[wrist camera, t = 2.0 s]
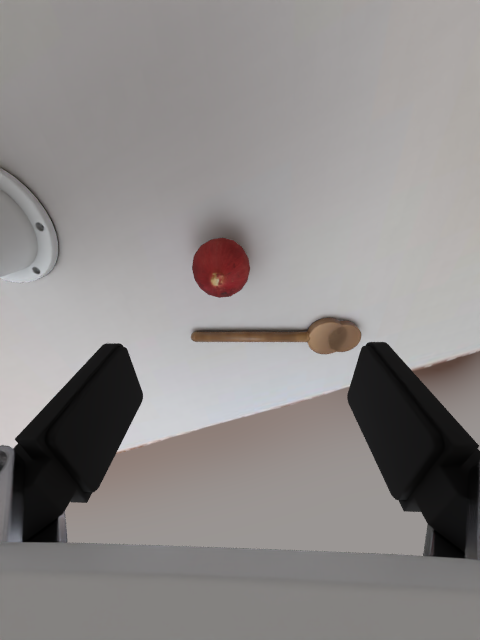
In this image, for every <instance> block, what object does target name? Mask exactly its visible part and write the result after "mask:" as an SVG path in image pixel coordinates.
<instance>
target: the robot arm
mask: <svg viewBox="0 0 480 640" xmlns="http://www.w3.org/2000/svg"><path fill="white" fill-rule="evenodd" d="M57 257H58V241H57V235H56V232H55V229H54V227H53V224H52V222H51V220H50V218H49V216H48V214H47V212H46V211H45V209H44V208H43V206H42V205H41V204H40V202H39V201H38V199H37V198H36V197H35V196H34V195H33V194H32V193H31V192H30V191H29V189H28V188H27V187H26V186H24V185H23V184H22V183H21V182H20V181H19V180H17V179H16V178H15V177H14V176H12V175H11V174H9V173H8V172H6V171H5V170H3V169H2V168H0V279H1V280H5V281H9V282H17V283H24V282H31V281H34V280H37V279H40V278H42V277H43V276H45V275H47V274H48V273H49V272H50V271H51V270H52V269H53V267H54V266H55V264H56V261H57ZM142 399H143V393H142V390H141V387H140V384H139V381H138V379H137V376H136V373H135V370H134V367H133V365H132V362H131V359H130V356H129V353H128V350H127V348H125V347H123V345H121V344H104V345H103V346H102V347H101V348H100V349H99V350H98V351H97V352H96V353H95V354H94V355H93V356H92V357H91V358H90V359H89V360H88V361H87V363H86V364H85V365H84V366H83V367H82V368H81V369H80V370H79V371H78V372H77V373H76V374H75V375H74V376H73V377H72V379H71V380H70V381H69V382H68V383H67V384H66V385H65V386H64V387H63V388H62V389H61V390H60V391H59V392H58V393H57V395H56V396H55V397H54V398H53V399H52V400H51V401H50V402H49V403H48V404H47V405H46V406H45V407H44V408H43V410H42V411H41V412H40V413H39V414H38V415H37V416H36V417H35V418H34V419H33V420H32V421H31V422H30V423H29V424H28V426H27V427H26V428H25V429H24V430H23V431H22V432H21V433H20V434H19V435H18V436H17V437H16V438H15V440H16V441H17V442H18V444H17V445H16V446H15V448H14V449H12V448H11V447H10V446H4V445H2V446H0V640H480V451H479V450H478V449H477V448H478V447H479V445H478V444H477V443H476V442H475V441H474V440H473V438H472V437H471V436H470V435H469V434H468V433H467V432H466V431H465V430H464V429H463V427H462V426H461V425H460V424H459V423H458V422H457V421H456V420H455V419H454V418H453V416H452V415H451V414H450V413H449V412H448V411H447V410H446V408H444V406H443V405H442V404H441V403H440V402H439V401H438V400H437V398H436V397H435V396H434V395H433V394H432V393H431V392H430V391H429V389H427V387H426V386H425V385H424V384H423V383H422V382H421V381H420V380H419V378H418V377H417V376H416V375H415V374H414V373H413V372H412V371H411V369H410V368H409V367H408V366H407V365H406V364H405V363H404V362H403V361H402V359H401V358H400V357H399V356H398V355H397V354H396V353H395V352H394V351H393V349H392V348H391V347H390V346H389V345H388V344H387V343H385V342H369V343H367V344H366V346H363V347H362V349H361V352H360V355H359V358H358V362H357V365H356V368H355V371H354V375H353V378H352V381H351V385H350V388H349V391H348V403H349V405H350V407H351V409H352V411H353V414H354V416H355V418H356V420H357V422H358V424H359V426H360V429H361V431H362V433H363V435H364V437H365V439H366V441H367V443H368V445H369V448H370V450H371V452H372V454H373V456H374V458H375V461H376V463H377V465H378V467H379V469H380V471H381V473H382V476H383V478H384V480H385V482H386V484H387V486H388V489H389V491H390V493H391V495H392V496H393V497H394V498H395V499H396V500H399V502H400V504H401V506H402V508H403V510H404V511H413V512H422V514H423V516H424V518H425V519H426V521H427V523H428V526H427V534H426V540H425V546H424V553H423V556H413V555H397V554H376V553H351V552H327V551H302V550H277V549H249V548H221V547H191V546H190V547H189V546H162V545H128V544H97V543H96V544H95V543H67V531H66V519H65V509H66V507H67V506H68V504H69V502H82V503H87V502H88V500H89V498H90V496H91V494H92V492H95V491H96V490H97V489H98V488H99V486H100V484H101V482H102V480H103V478H104V476H105V474H106V472H107V470H108V468H109V466H110V464H111V462H112V460H113V458H114V456H115V454H116V452H117V450H118V448H119V446H120V444H121V442H122V440H123V438H124V436H125V434H126V432H127V430H128V428H129V426H130V424H131V422H132V420H133V418H134V416H135V414H136V412H137V410H138V408H139V406H140V404H141V402H142Z"/></svg>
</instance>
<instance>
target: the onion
mask: <svg viewBox="0 0 480 640" xmlns="http://www.w3.org/2000/svg"><path fill="white" fill-rule="evenodd" d="M192 270H193V274H194V278H195V281H196V282H197V284H198V285H199V287H200V288H201V289H202V290H203V291H204V292H206V293H207V294H208V295H212V296H215V297H219V298H220V297H229V296H232V295H233V294H235V293H237V292H238V291H240V290H241V289H242V288H243V286H244V285H245V283H246V282H247V280H248V275H249V271H250V266H249V260H248V257H247V255H246V253H245V251H244V250H243V248H242V247H241V246H240V245H239V244H237V243H236V242H235V241H234V240H230V239H226V238H218V239H212V240H210V241H208V242H206V243H205V244H203V245H201V246H200V248H199V249H198V251H197V252H196V254H195V255H194V259H193V266H192Z"/></svg>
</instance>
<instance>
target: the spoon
mask: <svg viewBox="0 0 480 640" xmlns="http://www.w3.org/2000/svg"><path fill="white" fill-rule="evenodd" d="M191 339H192V340H193V341H195V342H308V344H309V347H310V348H311V349H312V350H313V351H315V352H316V353H319V354H330V353H334V352H336V351H337V352H345V351H348V350H351V349H353V348H354V347H355V346H357V344H358V343H359V342H360V339H361V332H360V330H359V329H358V327H357V326H356V325H355V324H354V323H353V322H350V321H346V320H343V321H339V320H337V319H334V318H323V319H320V320H317V321H316V322H314V323H313V324H312V325H311V326H310V327H309V328H308V330H307V332H193V333H192V335H191Z"/></svg>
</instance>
